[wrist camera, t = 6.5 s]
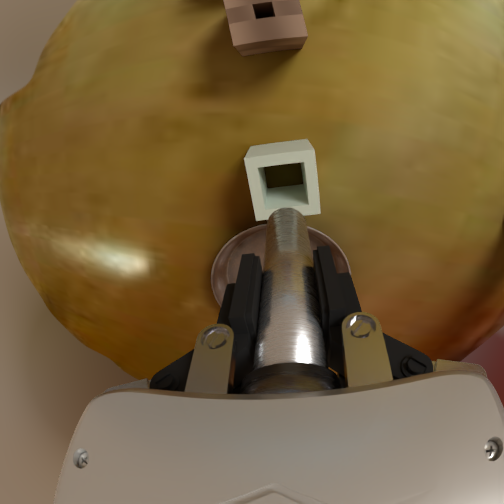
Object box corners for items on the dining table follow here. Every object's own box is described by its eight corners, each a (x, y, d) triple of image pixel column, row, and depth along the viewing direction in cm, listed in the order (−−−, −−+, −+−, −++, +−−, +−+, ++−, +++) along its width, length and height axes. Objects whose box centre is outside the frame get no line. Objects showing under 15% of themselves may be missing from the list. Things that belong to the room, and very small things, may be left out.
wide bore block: (307, 139, 26) (314, 149, 21) (313, 191, 29) (320, 213, 24) (250, 146, 27) (243, 158, 22) (260, 197, 30) (256, 220, 25)
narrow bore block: (290, 1, 18) (293, -20, 13) (301, 48, 21) (307, 36, 16) (232, 9, 19) (221, -10, 14) (242, 56, 22) (233, 46, 17)
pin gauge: (308, 200, 15) (350, 410, 5) (312, 243, 17) (339, 444, 7) (258, 205, 16) (222, 416, 6) (266, 248, 18) (246, 448, 7)
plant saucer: (194, 232, 34) (187, 245, 31) (335, 197, 30) (340, 207, 27) (240, 327, 42) (238, 342, 40) (352, 307, 38) (355, 321, 36)
